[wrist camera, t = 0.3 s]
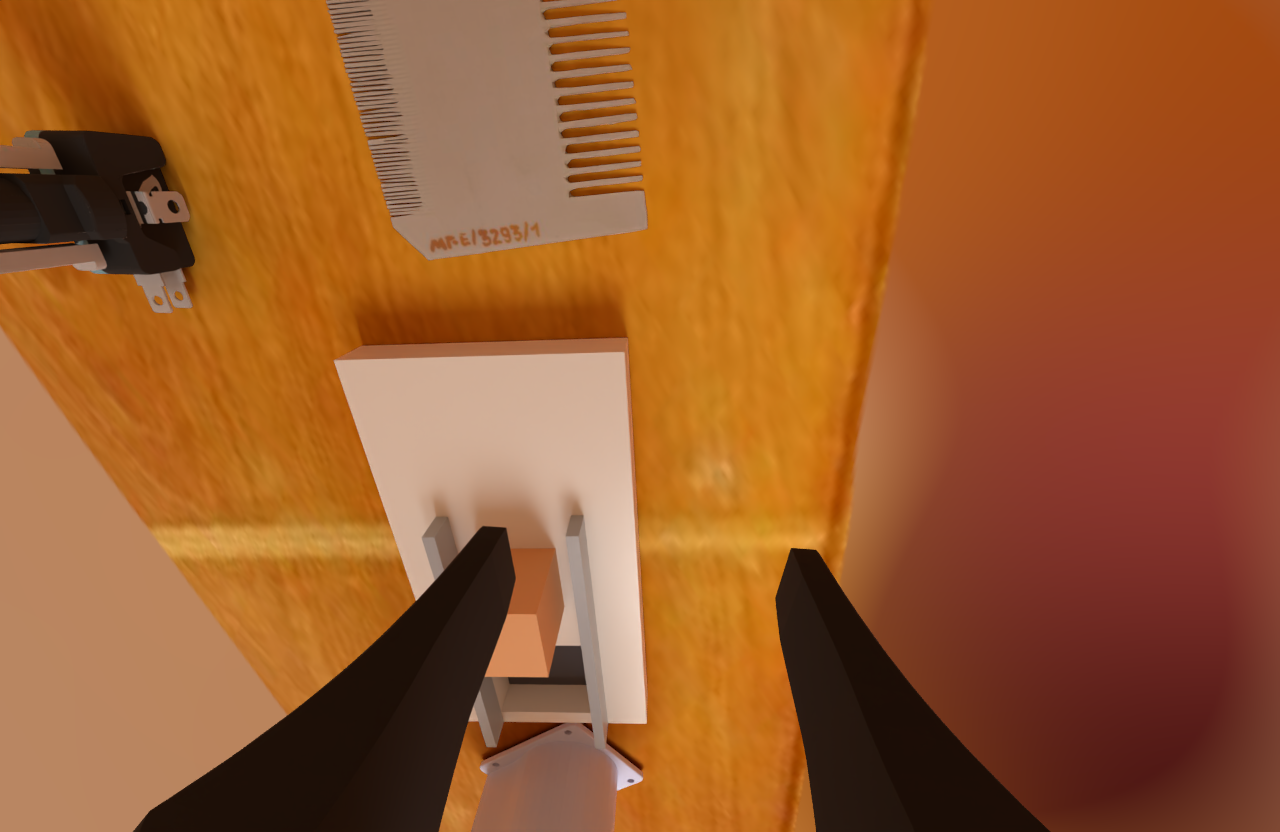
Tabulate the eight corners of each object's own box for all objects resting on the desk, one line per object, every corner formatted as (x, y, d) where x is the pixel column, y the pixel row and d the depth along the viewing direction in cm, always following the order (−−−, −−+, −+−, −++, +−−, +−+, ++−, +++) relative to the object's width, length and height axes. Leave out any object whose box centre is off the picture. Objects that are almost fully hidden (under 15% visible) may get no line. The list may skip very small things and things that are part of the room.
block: (564, 606, 25) (548, 677, 21) (490, 606, 25) (462, 676, 22) (555, 548, 23) (536, 614, 20) (476, 548, 23) (442, 614, 20)
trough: (647, 692, 31) (646, 749, 28) (468, 690, 32) (447, 746, 28) (627, 337, 20) (621, 364, 17) (361, 345, 21) (309, 373, 18)
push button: (253, 305, 21) (-65, 396, 12) (135, 303, 21) (-269, 391, 12) (191, 127, 18) (-299, 64, 9) (55, 126, 18) (-566, 63, 9)
